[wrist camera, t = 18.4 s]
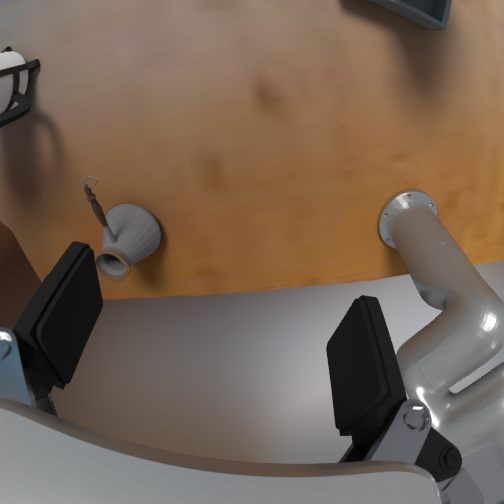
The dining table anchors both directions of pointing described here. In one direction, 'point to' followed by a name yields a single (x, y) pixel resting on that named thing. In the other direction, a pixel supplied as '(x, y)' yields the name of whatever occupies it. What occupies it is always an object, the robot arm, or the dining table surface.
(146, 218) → the coffee pot
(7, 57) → the coffee press
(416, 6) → the tray
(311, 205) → the dining table surface
